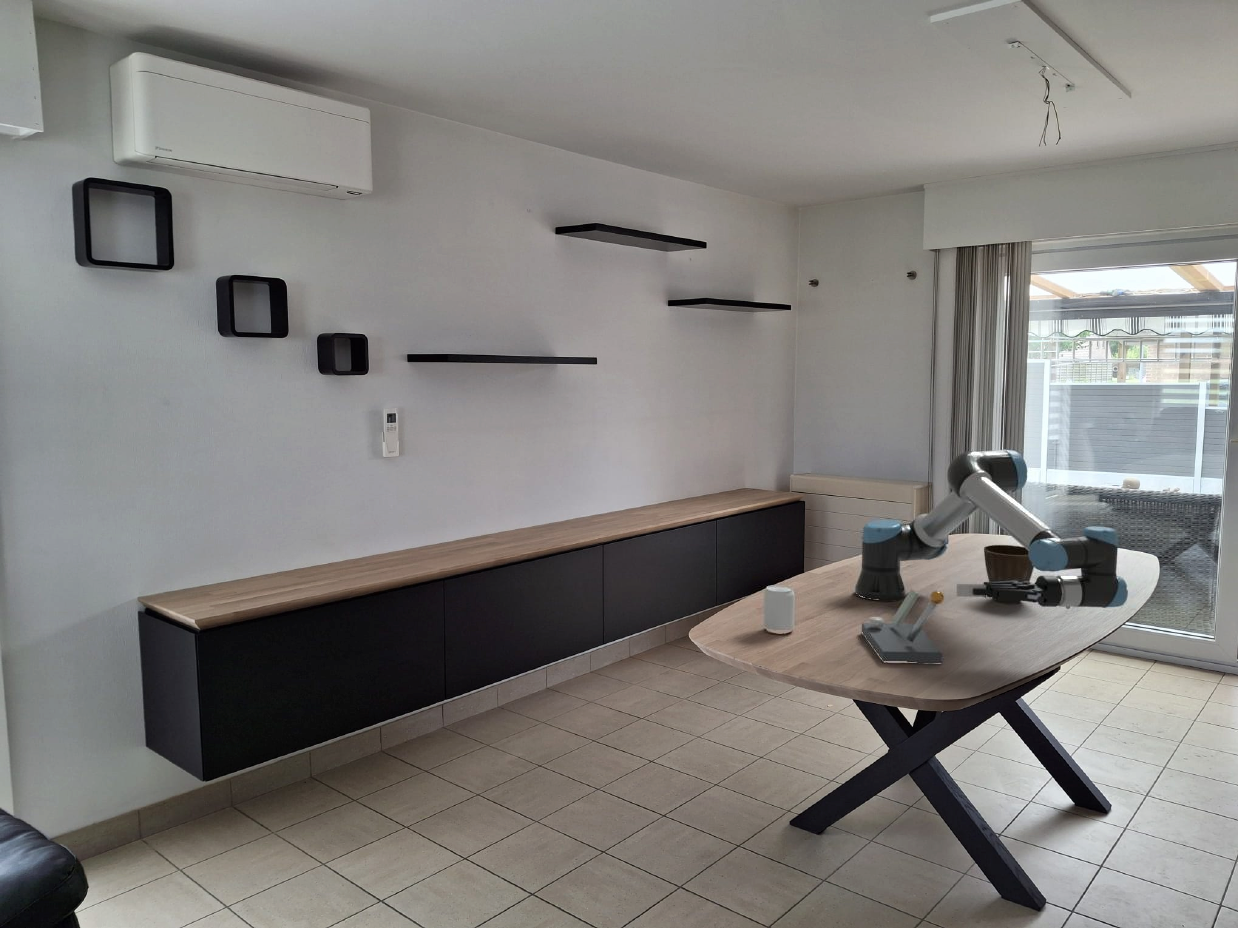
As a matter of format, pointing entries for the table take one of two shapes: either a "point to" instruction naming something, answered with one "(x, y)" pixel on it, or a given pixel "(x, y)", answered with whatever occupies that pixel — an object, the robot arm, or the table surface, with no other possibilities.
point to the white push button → (875, 622)
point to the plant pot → (1007, 565)
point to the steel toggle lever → (926, 614)
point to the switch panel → (901, 644)
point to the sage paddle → (905, 607)
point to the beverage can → (779, 607)
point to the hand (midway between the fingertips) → (957, 590)
